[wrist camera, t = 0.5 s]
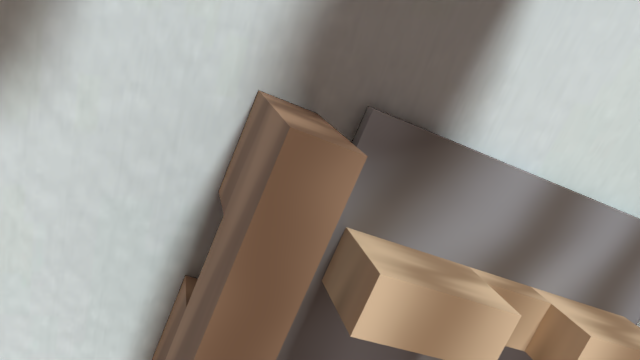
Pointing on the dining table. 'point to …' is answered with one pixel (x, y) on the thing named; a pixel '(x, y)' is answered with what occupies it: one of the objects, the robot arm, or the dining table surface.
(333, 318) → the slotted stand
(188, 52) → the dining table surface
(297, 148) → the brown rectangular block
